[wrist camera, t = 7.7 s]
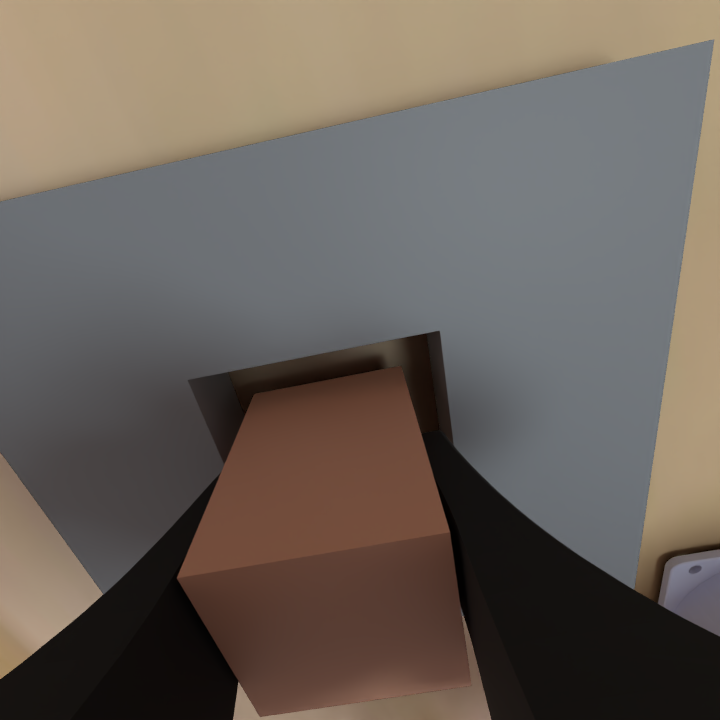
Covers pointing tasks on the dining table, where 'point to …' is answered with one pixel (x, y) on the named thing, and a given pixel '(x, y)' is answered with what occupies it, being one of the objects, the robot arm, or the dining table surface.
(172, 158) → the dining table surface
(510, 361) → the socket board
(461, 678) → the square peg
